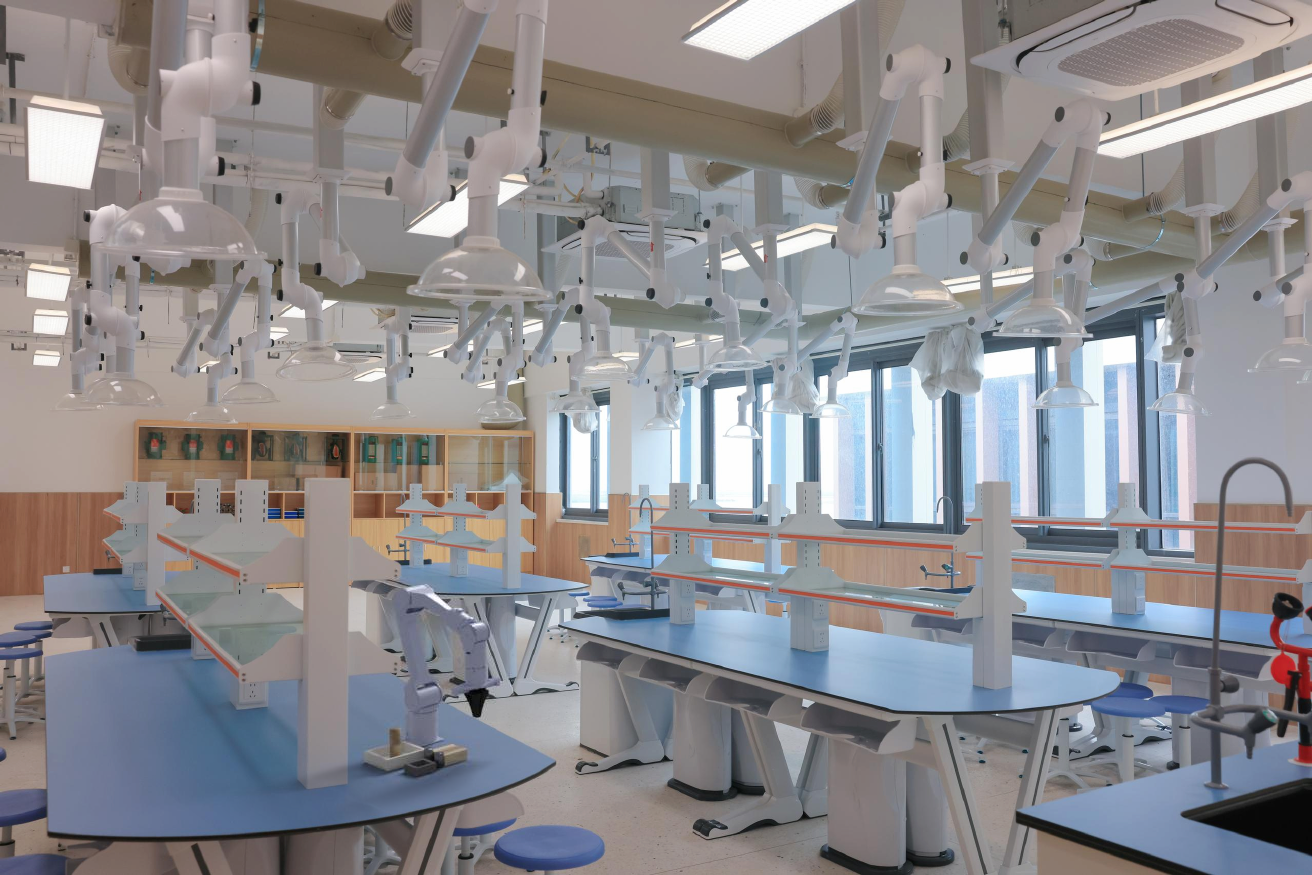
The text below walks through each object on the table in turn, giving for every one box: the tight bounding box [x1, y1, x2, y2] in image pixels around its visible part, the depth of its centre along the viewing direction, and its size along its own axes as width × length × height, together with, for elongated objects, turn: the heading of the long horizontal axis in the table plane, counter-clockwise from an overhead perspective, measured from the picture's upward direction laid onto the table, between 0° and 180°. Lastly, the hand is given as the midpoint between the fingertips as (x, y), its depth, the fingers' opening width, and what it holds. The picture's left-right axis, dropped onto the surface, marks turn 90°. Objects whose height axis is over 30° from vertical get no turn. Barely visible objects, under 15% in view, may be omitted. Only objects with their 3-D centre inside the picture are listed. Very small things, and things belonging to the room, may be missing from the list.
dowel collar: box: [403, 758, 437, 777], centre depth 243 cm, size 6×6×2 cm
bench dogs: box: [424, 747, 445, 769], centre depth 249 cm, size 7×2×4 cm, turn 46°
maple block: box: [433, 743, 468, 767], centre depth 252 cm, size 7×7×3 cm
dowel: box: [389, 726, 402, 758], centre depth 252 cm, size 3×3×8 cm
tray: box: [364, 740, 426, 773], centre depth 252 cm, size 12×12×3 cm
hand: (476, 716), depth 259 cm, fingers closed
